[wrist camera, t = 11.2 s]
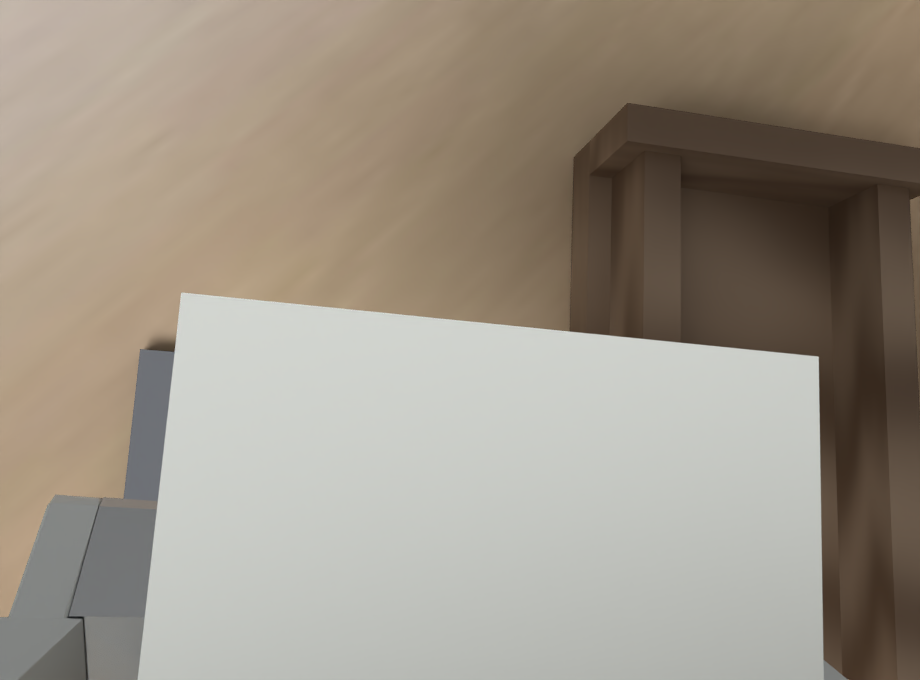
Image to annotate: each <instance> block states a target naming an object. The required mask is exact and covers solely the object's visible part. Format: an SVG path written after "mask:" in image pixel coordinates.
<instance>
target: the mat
mask: <svg viewBox="0 0 920 680" xmlns="http://www.w3.org/2000/svg"><path fill="white" fill-rule="evenodd" d="M174 354H175V352H169V351H156V350H143V349H140V356H139V365H138V374H137V383H136V392H135V401H134V410H133V419H132V428H131V437H130V446H129V455H128V464H127V473H126V482H125V491H124V499H135V500H149V501H158V495H159V486H160V477H161V469H162V460H163V451H164V442H165V433H166V424H167V416H168V407H169V398H170V389H171V380H172V371H173V363H174Z"/></svg>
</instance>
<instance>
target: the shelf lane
mask: <svg viewBox="0 0 920 680" xmlns="http://www.w3.org/2000/svg"><path fill="white" fill-rule="evenodd" d="M918 196H920V148H914V147H907V146H901V145H894V144H888V143H882V142H875V141H869V140H862V139H856V138H849V137H843V136H837V135H830V134H824V133H817V132H811V131H804V130H798V129H792V128H785V127H779V126H772V125H766V124H759V123H753V122H747V121H740V120H734V119H727V118H721V117H714V116H708V115H701V114H695V113H689V112H682V111H676V110H669V109H663V108H656V107H650V106H644V105H637V104H631V103H627V104H626V105H625V106H624V107H623V108H622V109H621V110H620V111H619V112H618V113H617V114H616V115H615V116H614V117H613V118H612V119H611V120H610V121H609V122H608V123H607V124H606V125H605V126H604V127H603V128H602V129H601V130H600V131H599V133H598V134H597V135H596V136H595V137H594V138H593V139H592V140H591V141H590V142H589V143H588V144H587V145H586V146H585V147H584V148H583V149H582V150H581V151H580V152H579V153H578V154H577V155H576V156H575V157H574V174H573V216H572V259H571V302H570V332H579V333H589V334H599V335H608V336H618V337H628V338H638V339H648V340H658V341H668V342H678V343H688V344H698V345H708V346H718V347H728V348H738V349H748V350H758V351H768V352H778V353H788V354H798V355H808V356H818V357H819V412H820V475H821V539H822V602H823V660H825V661H826V662H827V663H828V664H829V665H831V666H832V667H833V668H834V669H835V670H837V671H838V672H839V673H840V674H842V675H843V676H844V677H845V678H846V679H849V680H920V411H919V390H918V368H917V347H916V326H915V305H914V284H913V263H912V242H911V221H910V200H911V199H913V198H915V197H918Z"/></svg>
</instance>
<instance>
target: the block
mask: <svg viewBox="0 0 920 680" xmlns="http://www.w3.org/2000/svg"><path fill="white" fill-rule="evenodd" d="M138 680H824V666H823V602H822V539H821V475H820V412H819V357H818V356H808V355H798V354H788V353H778V352H768V351H758V350H748V349H738V348H728V347H718V346H708V345H698V344H688V343H678V342H668V341H658V340H648V339H638V338H628V337H618V336H608V335H599V334H589V333H579V332H569V331H559V330H549V329H539V328H529V327H519V326H509V325H499V324H489V323H479V322H469V321H459V320H449V319H439V318H429V317H419V316H409V315H399V314H389V313H379V312H369V311H360V310H350V309H340V308H330V307H320V306H310V305H300V304H290V303H280V302H270V301H260V300H250V299H240V298H230V297H220V296H210V295H200V294H190V293H181V301H180V310H179V318H178V327H177V336H176V345H175V354H174V363H173V371H172V380H171V389H170V398H169V407H168V416H167V424H166V433H165V442H164V451H163V460H162V469H161V477H160V486H159V495H158V504H157V513H156V522H155V531H154V539H153V548H152V557H151V566H150V575H149V584H148V592H147V601H146V610H145V619H144V628H143V637H142V645H141V654H140V663H139V672H138Z"/></svg>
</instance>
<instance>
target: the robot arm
mask: <svg viewBox="0 0 920 680" xmlns="http://www.w3.org/2000/svg"><path fill="white" fill-rule="evenodd" d="M157 504H158V501H149V500H135V499H120V498H106V497H104V498H95V497H81V496H66V495H55V496H54V497H53V499H52V500H51V501H50V503H49V504H48V506H47V508H46V511H45V514H44V517H43V520H42V522H41V525H40V528H39V531H38V534H37V537H36V540H35V543H34V545H33V548H32V551H31V554H30V557H29V560H28V563H27V565H26V568H25V571H24V574H23V577H22V580H21V583H20V586H19V588H18V591H17V594H16V597H15V600H14V603H13V606H12V608H11V611H10V614H9V617H0V680H138V672H139V663H140V654H141V645H142V637H143V628H144V619H145V610H146V601H147V592H148V584H149V575H150V566H151V557H152V548H153V539H154V531H155V522H156V513H157ZM823 666H824V680H848V679H846V678H845V677H844V676H843V675H842V674H840V673H839V672H838V671H837V670H835V669H834V668H833V667H832V666H831V665H829V664H828V663H827V662H826V661H825V660H823Z"/></svg>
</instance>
